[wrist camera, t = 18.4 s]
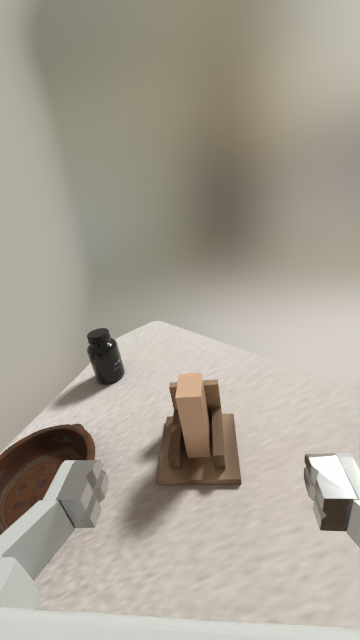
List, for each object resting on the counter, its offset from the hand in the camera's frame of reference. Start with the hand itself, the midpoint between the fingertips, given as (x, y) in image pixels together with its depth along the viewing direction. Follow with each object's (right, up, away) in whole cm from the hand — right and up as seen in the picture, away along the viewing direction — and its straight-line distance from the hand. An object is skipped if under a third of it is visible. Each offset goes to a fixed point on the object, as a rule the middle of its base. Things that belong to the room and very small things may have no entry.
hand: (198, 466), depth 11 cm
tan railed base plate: (+2, -15, +33) cm, 37 cm away
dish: (-21, -21, +31) cm, 43 cm away
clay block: (+2, -14, +33) cm, 36 cm away
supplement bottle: (-17, -8, +55) cm, 58 cm away
